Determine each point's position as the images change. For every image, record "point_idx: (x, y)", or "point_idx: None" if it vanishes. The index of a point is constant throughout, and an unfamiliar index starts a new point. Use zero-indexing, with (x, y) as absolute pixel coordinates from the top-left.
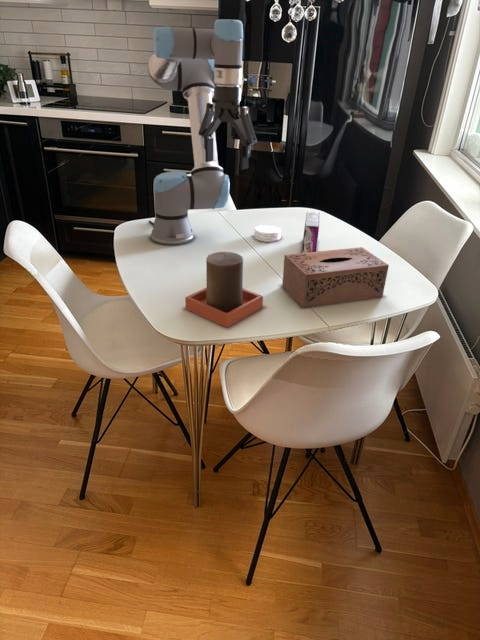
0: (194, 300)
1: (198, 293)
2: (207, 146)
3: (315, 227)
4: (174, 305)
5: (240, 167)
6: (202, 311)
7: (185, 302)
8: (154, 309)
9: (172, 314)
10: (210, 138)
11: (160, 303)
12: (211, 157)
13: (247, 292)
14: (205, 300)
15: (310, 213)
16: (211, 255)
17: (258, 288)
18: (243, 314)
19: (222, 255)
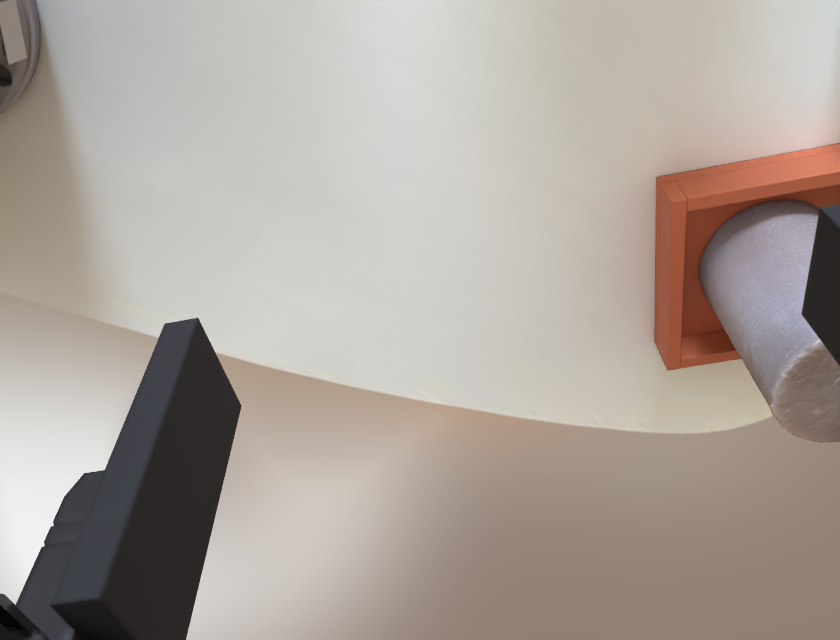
0: (709, 360)
1: (681, 327)
2: (196, 573)
3: None
4: (609, 354)
5: (819, 329)
6: None
7: (662, 357)
8: (585, 403)
9: (650, 382)
10: (84, 627)
11: (566, 377)
12: (203, 383)
13: (833, 184)
14: (685, 287)
15: None
16: (790, 408)
17: (772, 25)
18: None
19: (834, 381)
